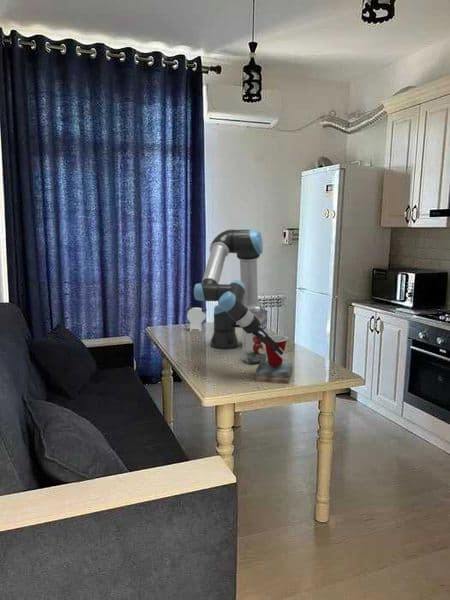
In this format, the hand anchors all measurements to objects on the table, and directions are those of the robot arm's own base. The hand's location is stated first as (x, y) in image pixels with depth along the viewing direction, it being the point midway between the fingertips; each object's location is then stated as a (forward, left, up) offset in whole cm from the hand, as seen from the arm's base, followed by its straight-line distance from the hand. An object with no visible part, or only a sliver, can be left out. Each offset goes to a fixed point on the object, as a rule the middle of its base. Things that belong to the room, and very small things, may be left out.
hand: (281, 355), depth 202 cm
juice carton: (-15, +16, -9) cm, 24 cm away
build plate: (-3, -2, -9) cm, 9 cm away
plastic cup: (-3, -2, -4) cm, 5 cm away
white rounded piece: (-61, +72, -9) cm, 95 cm away
